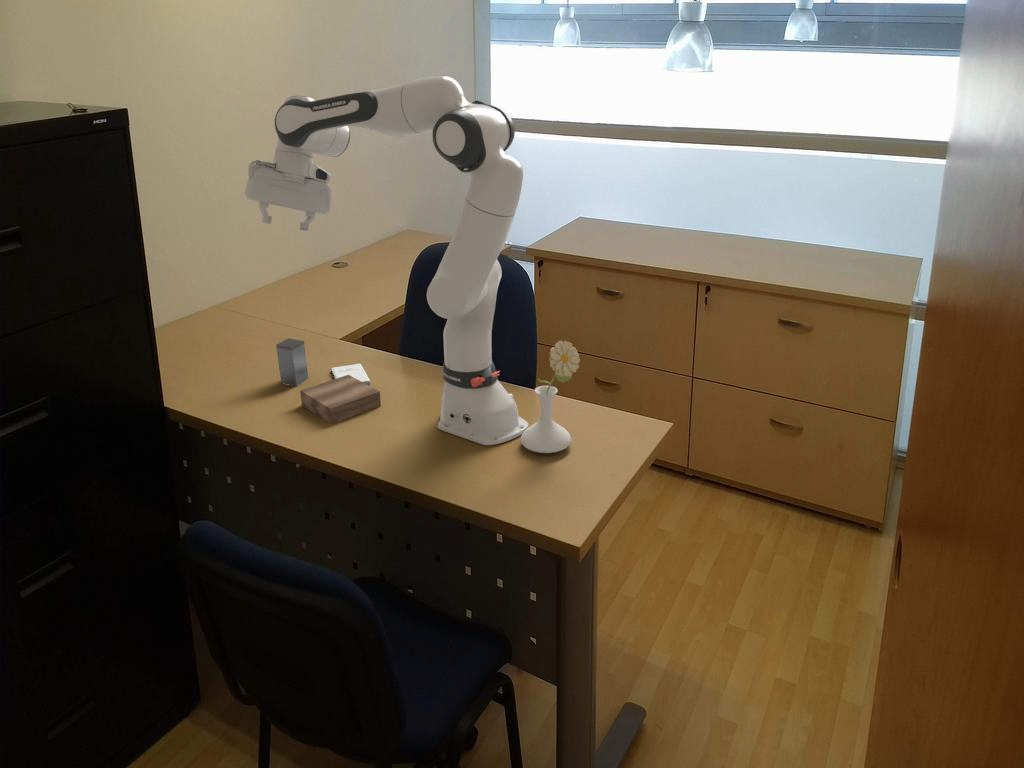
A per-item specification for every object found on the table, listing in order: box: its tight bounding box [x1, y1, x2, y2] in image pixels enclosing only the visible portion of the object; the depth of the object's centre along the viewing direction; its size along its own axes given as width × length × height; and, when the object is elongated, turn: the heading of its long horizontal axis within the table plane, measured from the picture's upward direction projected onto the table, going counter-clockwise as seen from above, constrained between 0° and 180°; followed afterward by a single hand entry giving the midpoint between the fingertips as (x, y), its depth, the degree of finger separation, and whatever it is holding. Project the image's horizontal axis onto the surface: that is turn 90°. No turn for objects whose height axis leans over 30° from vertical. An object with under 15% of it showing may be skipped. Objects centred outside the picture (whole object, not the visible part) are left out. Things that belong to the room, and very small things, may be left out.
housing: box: [275, 337, 309, 387], centre depth 225 cm, size 5×5×11 cm
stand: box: [299, 375, 382, 424], centre depth 213 cm, size 14×14×4 cm
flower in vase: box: [520, 340, 581, 454], centre depth 189 cm, size 13×11×25 cm
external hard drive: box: [330, 363, 372, 386], centre depth 229 cm, size 2×8×12 cm
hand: (285, 227), depth 203 cm, fingers open, 8 cm apart
